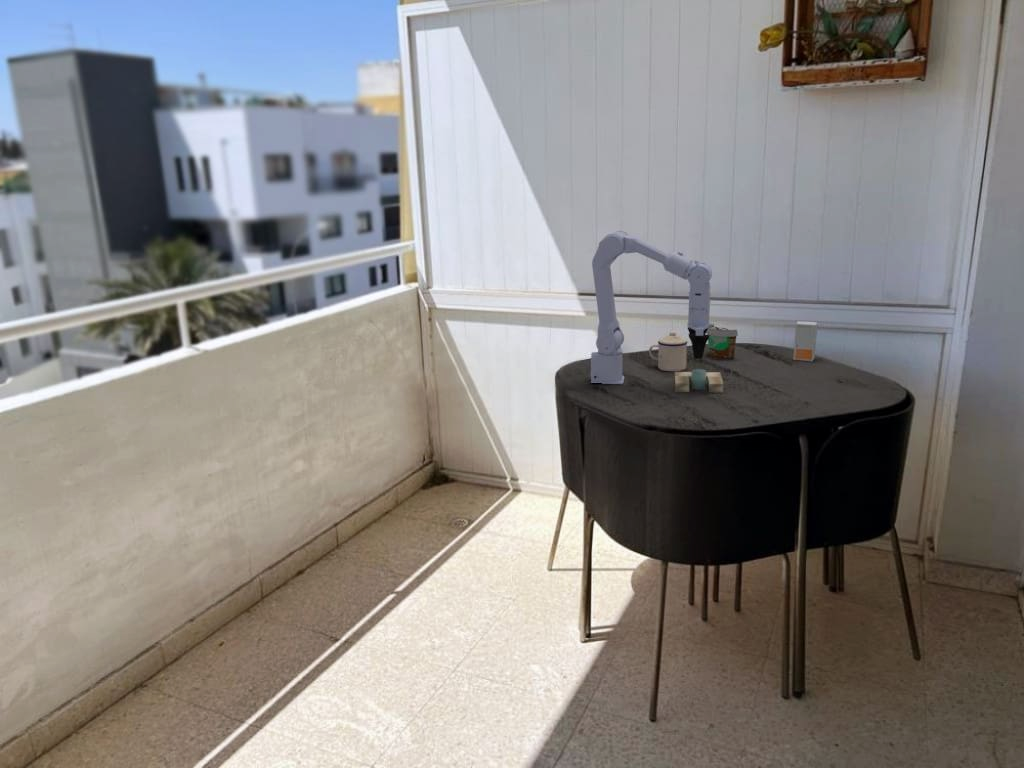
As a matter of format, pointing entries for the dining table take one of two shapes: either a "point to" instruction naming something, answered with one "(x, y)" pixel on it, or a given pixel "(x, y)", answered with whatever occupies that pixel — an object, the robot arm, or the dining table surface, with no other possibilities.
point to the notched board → (712, 381)
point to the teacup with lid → (671, 352)
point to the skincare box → (805, 341)
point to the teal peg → (698, 379)
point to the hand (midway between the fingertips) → (697, 355)
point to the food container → (721, 342)
